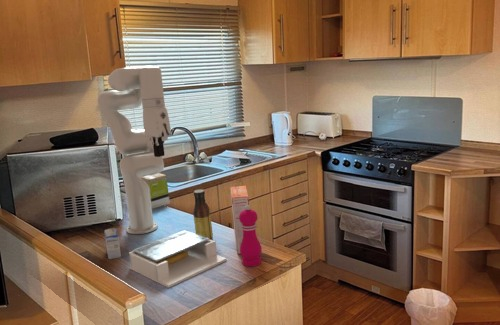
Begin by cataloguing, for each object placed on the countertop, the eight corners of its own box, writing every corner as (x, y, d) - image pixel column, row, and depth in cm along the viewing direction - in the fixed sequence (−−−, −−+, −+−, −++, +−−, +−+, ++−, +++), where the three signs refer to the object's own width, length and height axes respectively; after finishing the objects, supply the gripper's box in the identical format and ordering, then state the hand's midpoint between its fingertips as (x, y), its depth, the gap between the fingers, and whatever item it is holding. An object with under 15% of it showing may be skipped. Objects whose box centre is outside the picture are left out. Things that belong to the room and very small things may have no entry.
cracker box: (234, 239, 178) (230, 186, 174) (250, 238, 179) (246, 184, 174) (236, 255, 165) (231, 197, 160) (253, 253, 165) (249, 195, 160)
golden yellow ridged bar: (156, 264, 160) (155, 259, 159) (182, 253, 167) (182, 248, 167) (163, 267, 157) (162, 262, 156) (189, 256, 164) (189, 251, 164)
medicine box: (106, 251, 176) (103, 229, 174) (119, 249, 177) (116, 227, 175) (108, 259, 169) (105, 236, 167) (121, 257, 170) (118, 234, 168)
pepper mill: (236, 263, 158) (231, 206, 154) (251, 256, 163) (247, 200, 158) (251, 269, 153) (247, 210, 148) (267, 261, 158) (263, 204, 153)
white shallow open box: (130, 268, 160) (127, 252, 158) (186, 245, 176) (185, 230, 175) (168, 287, 144) (166, 269, 143) (226, 260, 161) (225, 243, 159)
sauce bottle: (204, 236, 184) (200, 187, 180) (216, 239, 180) (212, 189, 176) (192, 242, 179) (187, 191, 175) (204, 245, 175) (199, 193, 171)
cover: (133, 251, 158) (132, 249, 158) (184, 231, 173) (184, 229, 173) (156, 261, 149) (156, 259, 149) (208, 239, 163) (208, 237, 163)
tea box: (136, 203, 234) (132, 174, 231) (154, 198, 241) (150, 170, 237) (152, 209, 223) (148, 178, 220) (170, 203, 230) (167, 174, 226)
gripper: (175, 102, 159) (181, 156, 163) (150, 101, 169) (156, 152, 173) (156, 105, 154) (163, 160, 158) (132, 104, 164) (138, 156, 168)
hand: (159, 156), depth 166 cm, fingers closed
